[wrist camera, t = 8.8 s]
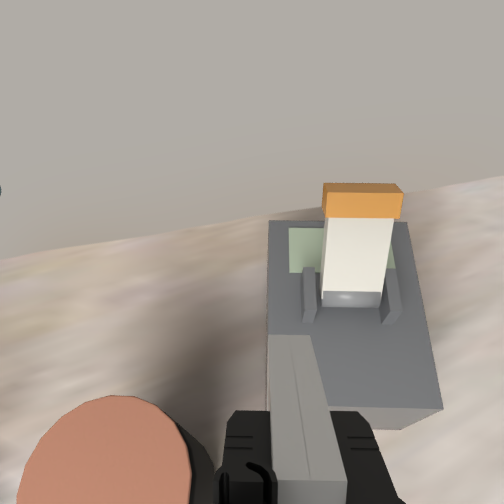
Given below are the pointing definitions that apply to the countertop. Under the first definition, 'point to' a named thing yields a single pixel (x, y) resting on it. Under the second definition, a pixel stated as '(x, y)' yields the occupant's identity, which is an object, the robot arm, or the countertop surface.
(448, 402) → the countertop surface
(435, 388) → the box
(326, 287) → the lever
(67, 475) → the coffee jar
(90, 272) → the countertop surface
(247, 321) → the countertop surface
